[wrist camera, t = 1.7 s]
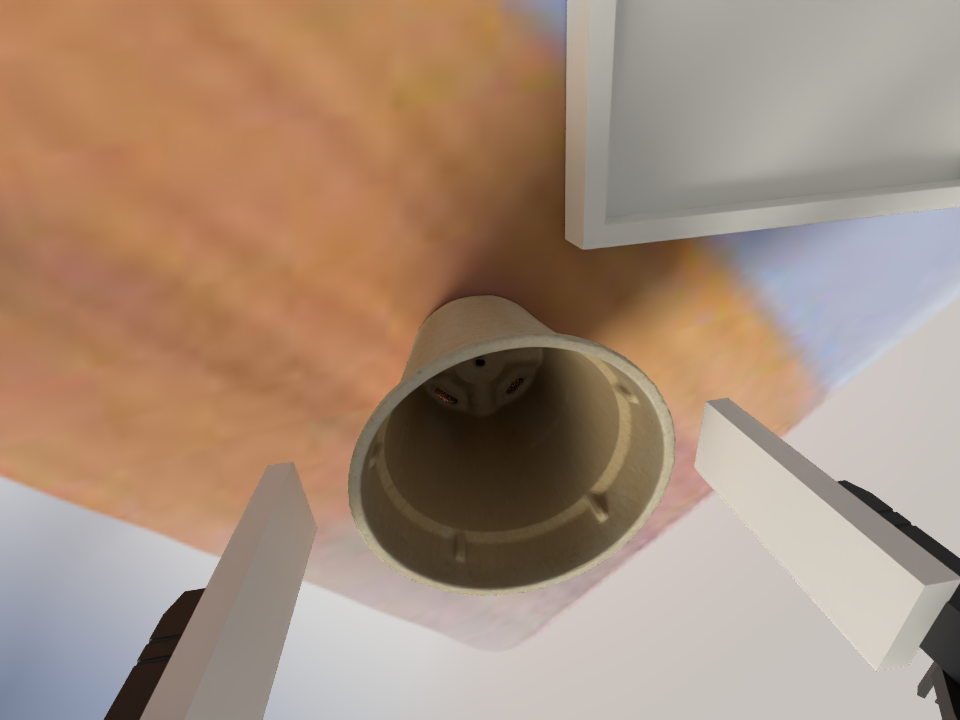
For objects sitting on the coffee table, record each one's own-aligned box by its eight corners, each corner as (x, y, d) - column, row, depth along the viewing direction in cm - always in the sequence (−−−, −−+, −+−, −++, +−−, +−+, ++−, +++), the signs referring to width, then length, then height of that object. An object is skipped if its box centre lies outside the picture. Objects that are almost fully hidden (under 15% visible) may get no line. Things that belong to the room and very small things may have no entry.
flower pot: (610, 287, 19) (739, 380, 11) (538, 452, 23) (598, 607, 15) (402, 228, 17) (387, 293, 9) (360, 422, 20) (323, 585, 13)
